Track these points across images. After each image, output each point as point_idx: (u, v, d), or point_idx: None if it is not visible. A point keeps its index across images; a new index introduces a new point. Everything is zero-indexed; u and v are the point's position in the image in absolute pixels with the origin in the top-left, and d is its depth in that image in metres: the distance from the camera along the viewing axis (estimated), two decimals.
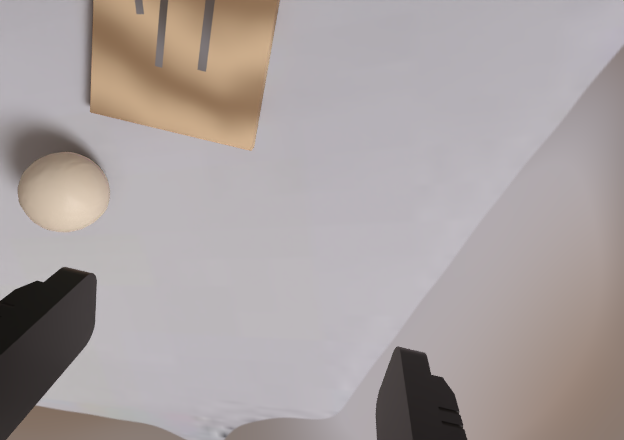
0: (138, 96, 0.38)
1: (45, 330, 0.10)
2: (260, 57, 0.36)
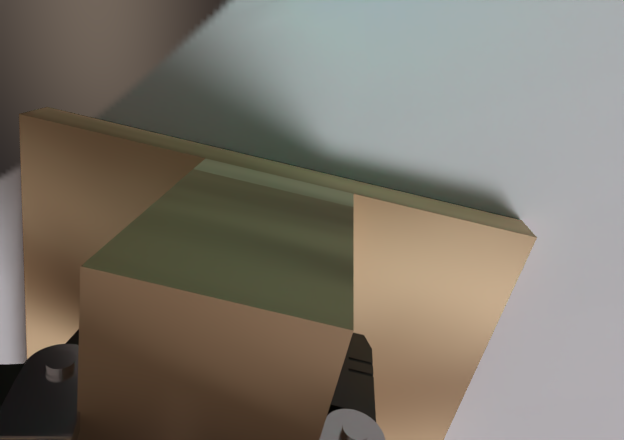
0: None
1: None
2: None
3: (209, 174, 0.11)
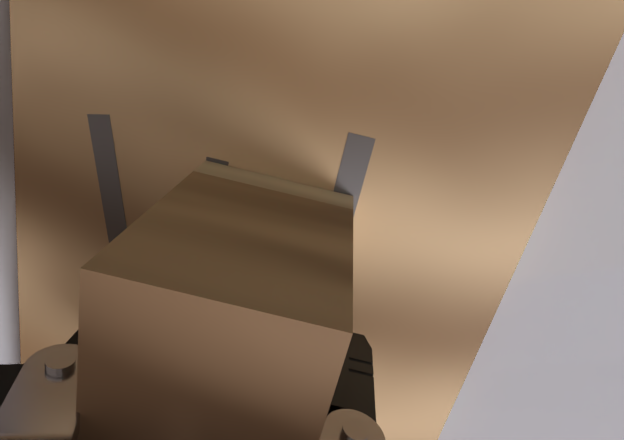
0: None
1: None
2: (423, 432, 0.15)
3: (209, 177, 0.11)
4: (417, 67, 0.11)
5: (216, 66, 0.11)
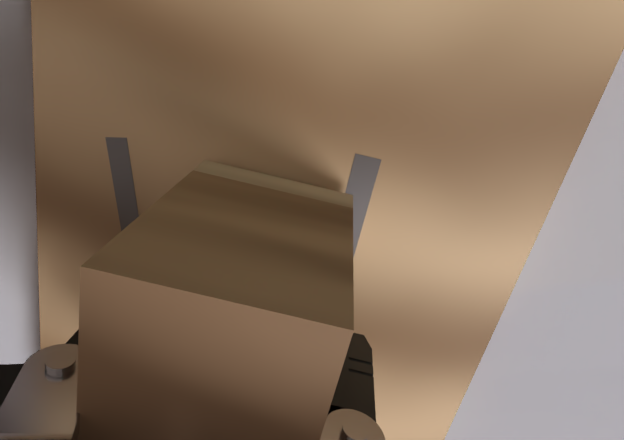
0: None
1: None
2: (428, 437, 0.16)
3: (209, 175, 0.11)
4: (421, 92, 0.11)
5: (229, 91, 0.12)
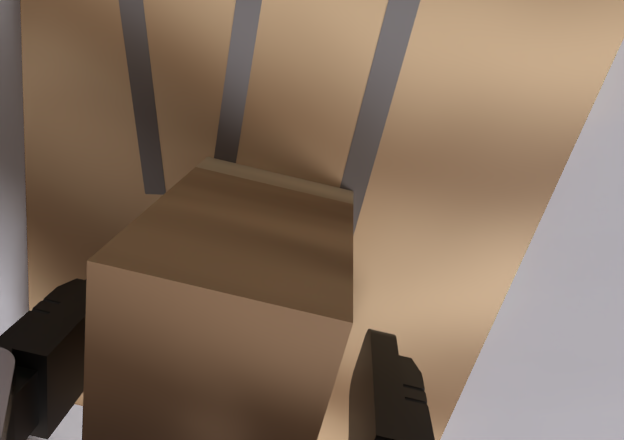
0: None
1: None
2: (481, 305, 0.13)
3: (211, 172, 0.11)
4: None
5: None
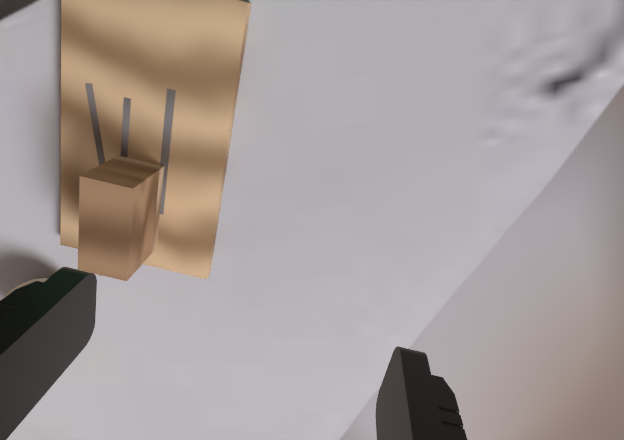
0: None
1: (45, 330, 0.10)
2: (211, 204, 0.40)
3: (116, 160, 0.38)
4: (184, 67, 0.36)
5: (124, 67, 0.36)
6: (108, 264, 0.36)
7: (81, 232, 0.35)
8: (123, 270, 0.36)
